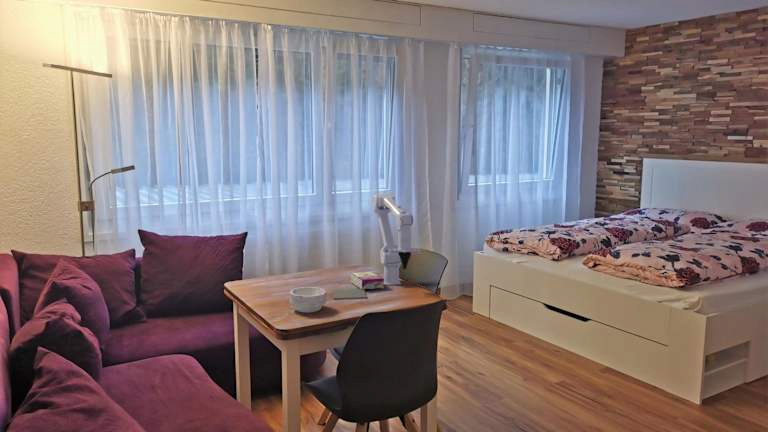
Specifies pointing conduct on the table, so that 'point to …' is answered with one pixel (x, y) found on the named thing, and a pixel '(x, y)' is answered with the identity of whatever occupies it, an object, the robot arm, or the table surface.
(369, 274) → the candy bar box
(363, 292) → the mat
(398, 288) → the table surface
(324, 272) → the table surface
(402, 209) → the robot arm
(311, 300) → the paper bowls
